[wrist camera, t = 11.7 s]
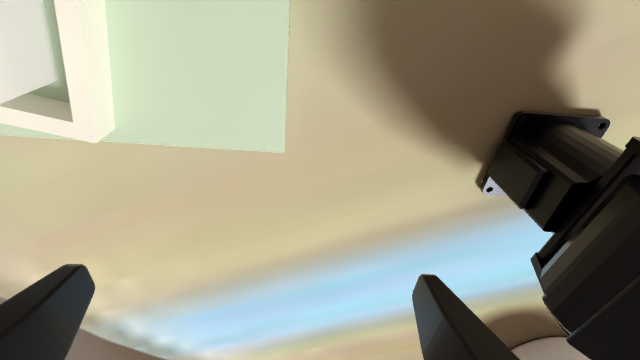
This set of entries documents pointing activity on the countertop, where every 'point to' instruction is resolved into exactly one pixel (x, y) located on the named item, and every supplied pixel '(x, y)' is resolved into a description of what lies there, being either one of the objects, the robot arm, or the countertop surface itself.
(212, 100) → the board
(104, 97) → the white square frame
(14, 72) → the plug
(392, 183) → the countertop surface
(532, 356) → the mug
